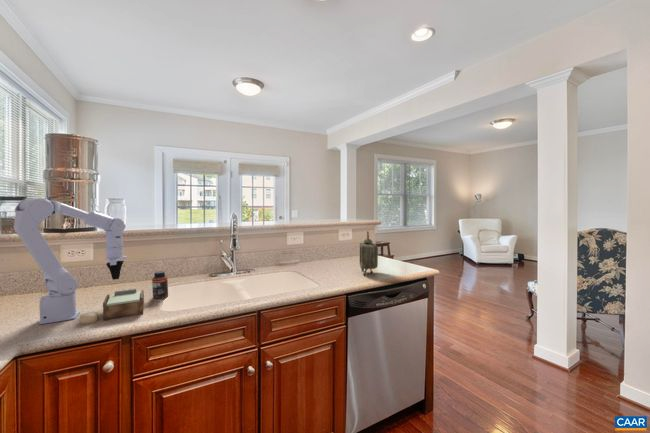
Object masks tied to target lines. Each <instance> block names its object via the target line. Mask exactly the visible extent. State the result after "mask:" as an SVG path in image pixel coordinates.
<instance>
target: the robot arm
mask: <svg viewBox="0 0 650 433" xmlns="http://www.w3.org/2000/svg"><path fill="white" fill-rule="evenodd" d="M14 213H15V215H14V224H13V229H14V231H15V233H16V234H17V236H18V237H19V239H20V241H21V242H22V243H23V245H24V247H26V249H27V251H28V252H29V254H30V256H31V257H32V258H33V261H35V263H36V264H37V266H38V267H39V269H40V271H41V272H42V274H43V275H42V278H43V280H44V286H45V289H46V290H47V291H49V292H48V295H43V296H41V298H40V300H39V304H38V305H39V306H38V307H39V324H40V325H45V324H49V323H51V324H52V323H56V322H61V321H62V322H63V321H68V320H69V321H70V320H75V319H76V318H77V317H78V315H79V313H80V310H77V300H76V299H77V297H76V291H77V289H78V288H79V281H78V279H77V278H76V277H74V276H72V275H71V274H70V272H69V271H68V270H66V269H65V268H64V267H63V266H62V264H61V262H60V261H59V260H58V258H57V256H56V255H55V253H54V252H53V250H52V249H51V247H50V245H49V243H48V242H47V240H46V239H45V237H44V236H43V234H42V232H41V231H40V229H39V228H40V226H41V224H42V223H43V221H45V219H47V218H49V216H50V215H58V214H60V215H64V216H67V217H71V218H75V219H78V220H82V221H83V223H84V224H85V225H87V226H91V227H94V228H98V229H101V230H103V231H105V246H106V247H105V250H106V251H105V253H106V257H105V260H106V261H108V262H107V263H106V265H105V266H107V268H108V270H109V272H110V275H111V279H112V281H113V280H119V279H120V276H121V271H122V267H123V264H124V261H125V259H127V257H128V255H124V244H123V243H124V238H123V236H124V230H125V229H126V224H125V222H124V220H123V219H121V218H119V217H118V218H114V217H113V215H111V214H109V215H107V214H104V213H101V211H100V210H90V211H85V210H82V209H80V208H76V207H75V206H70V205H68V204H66V203H64V202H59V201H57V200H50V199H47V198H44V197H43V198H42V197H40V198H31V197H30V198H28V197H27V198H23V199H22V200H21V201H19V203H17V205H16V206H15V208H14Z"/></svg>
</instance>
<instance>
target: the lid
mask: <svg viewBox="0 0 650 433" xmlns="http://www.w3.org/2000/svg"><path fill="white" fill-rule="evenodd" d="M141 291H142V290H140V291H137V288H130V289H123V290H116V291H114V294H111V295H110V294H109V296H110V298H109V300H108V302H107V306H110V305H116V304H123V303H130V302H137V301H140V294H141Z"/></svg>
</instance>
